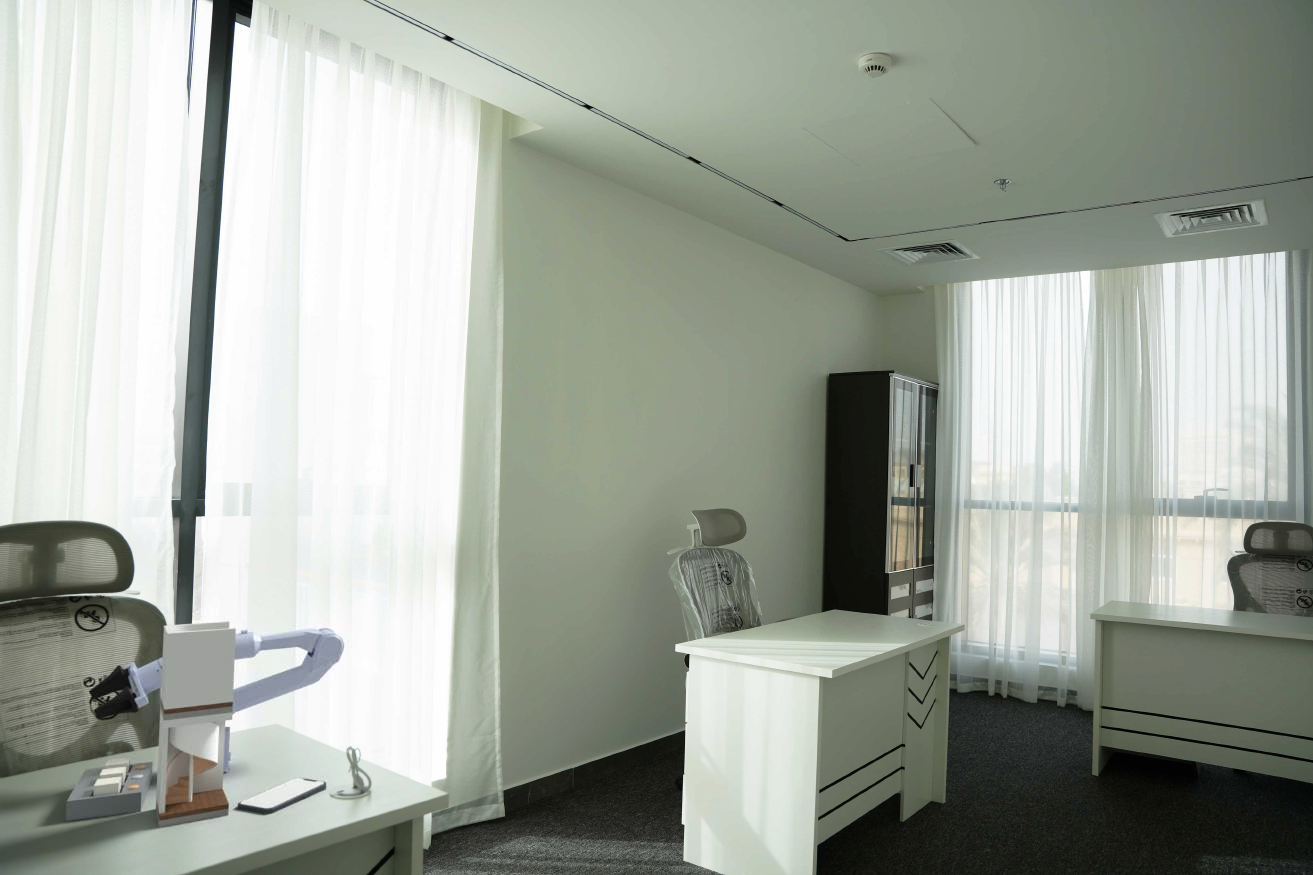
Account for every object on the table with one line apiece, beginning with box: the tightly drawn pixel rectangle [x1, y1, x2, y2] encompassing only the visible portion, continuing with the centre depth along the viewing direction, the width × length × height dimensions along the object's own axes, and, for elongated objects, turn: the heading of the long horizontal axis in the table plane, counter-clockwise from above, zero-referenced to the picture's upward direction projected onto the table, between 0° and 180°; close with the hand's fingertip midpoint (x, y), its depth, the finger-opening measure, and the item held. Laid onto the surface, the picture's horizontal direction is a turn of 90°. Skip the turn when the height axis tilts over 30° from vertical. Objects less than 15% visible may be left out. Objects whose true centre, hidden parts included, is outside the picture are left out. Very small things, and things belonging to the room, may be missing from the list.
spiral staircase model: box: [155, 621, 237, 828], centre depth 164 cm, size 11×11×35 cm
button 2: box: [104, 757, 131, 773], centre depth 176 cm, size 4×4×3 cm
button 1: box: [93, 777, 122, 796], centre depth 164 cm, size 4×4×3 cm
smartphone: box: [237, 777, 327, 815], centre depth 171 cm, size 9×2×16 cm
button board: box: [65, 761, 153, 822], centre depth 170 cm, size 12×20×4 cm, turn 25°
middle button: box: [99, 767, 126, 783], centre depth 170 cm, size 4×4×3 cm
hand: (93, 704), depth 177 cm, fingers open, 7 cm apart
